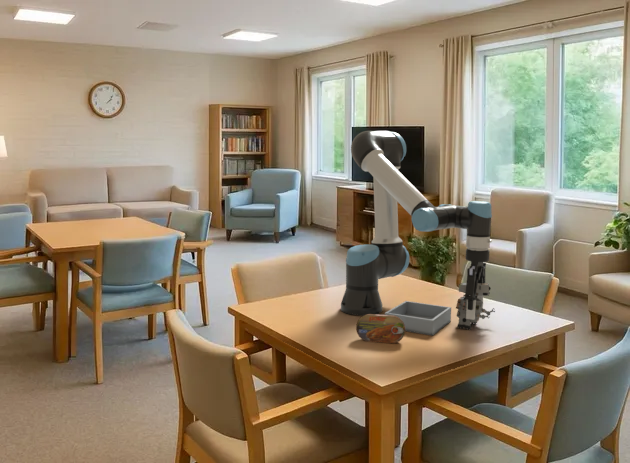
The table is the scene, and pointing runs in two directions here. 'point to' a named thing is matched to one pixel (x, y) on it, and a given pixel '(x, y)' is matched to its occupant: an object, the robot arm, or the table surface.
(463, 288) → the figurine
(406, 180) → the robot arm
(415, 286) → the table surface
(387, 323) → the tin
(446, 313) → the bin
